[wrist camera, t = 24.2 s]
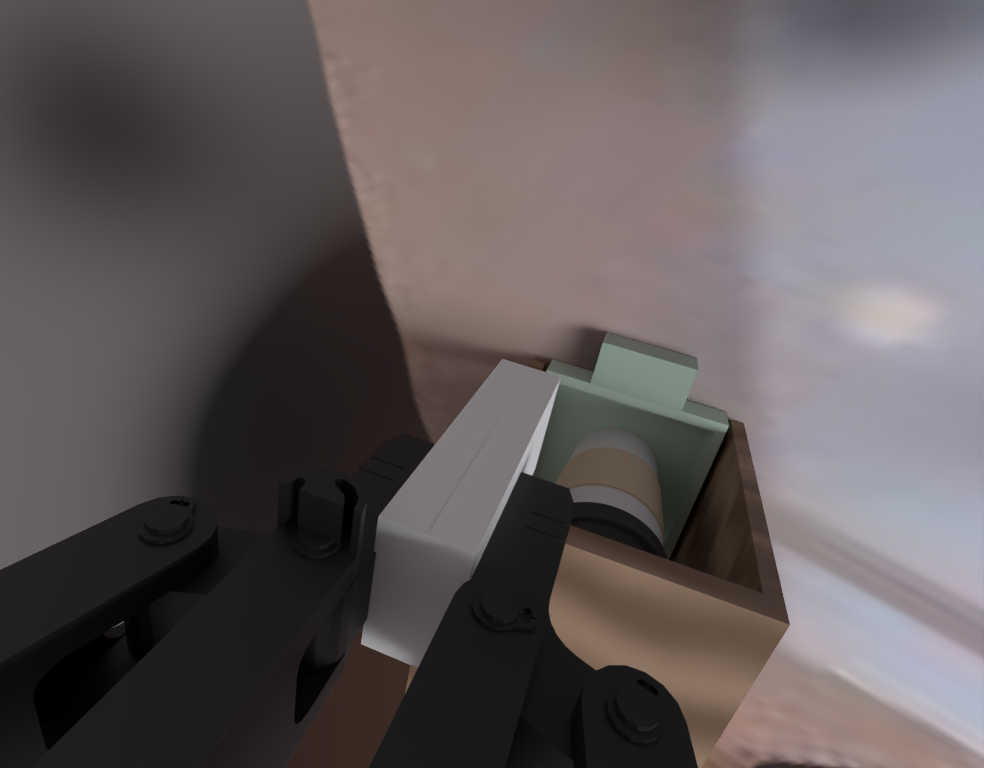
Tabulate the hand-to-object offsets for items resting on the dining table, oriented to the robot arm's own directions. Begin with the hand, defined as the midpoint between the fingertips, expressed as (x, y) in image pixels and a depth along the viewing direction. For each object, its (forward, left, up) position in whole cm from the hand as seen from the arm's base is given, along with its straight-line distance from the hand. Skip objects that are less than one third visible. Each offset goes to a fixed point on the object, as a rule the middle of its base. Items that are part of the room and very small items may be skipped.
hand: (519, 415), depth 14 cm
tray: (+16, +5, -30) cm, 35 cm away
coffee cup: (+18, +5, -30) cm, 35 cm away
